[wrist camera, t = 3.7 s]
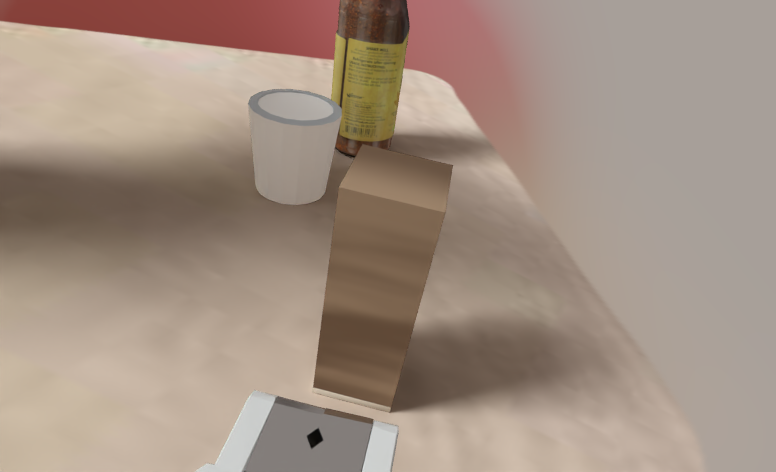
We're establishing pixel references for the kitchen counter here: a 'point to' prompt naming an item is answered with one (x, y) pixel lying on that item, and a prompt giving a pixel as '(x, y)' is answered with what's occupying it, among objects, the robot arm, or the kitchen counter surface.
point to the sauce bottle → (369, 71)
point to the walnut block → (378, 272)
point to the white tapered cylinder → (292, 144)
